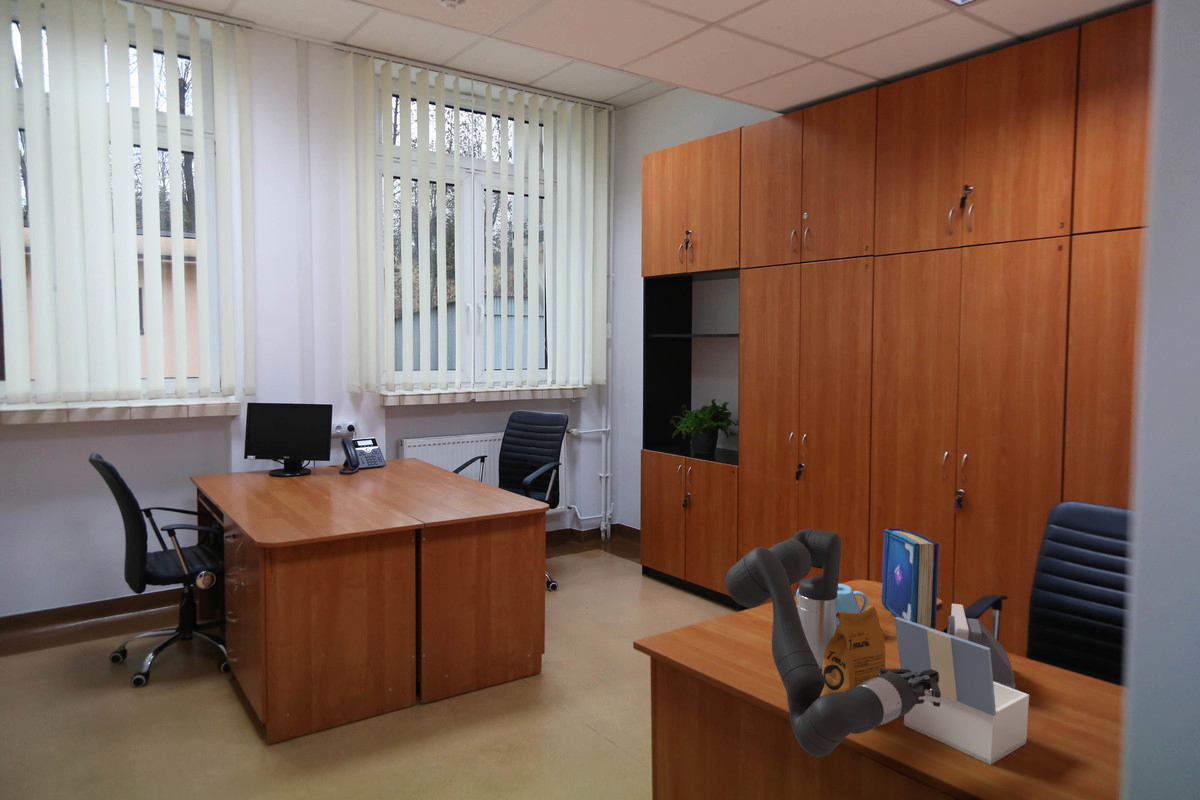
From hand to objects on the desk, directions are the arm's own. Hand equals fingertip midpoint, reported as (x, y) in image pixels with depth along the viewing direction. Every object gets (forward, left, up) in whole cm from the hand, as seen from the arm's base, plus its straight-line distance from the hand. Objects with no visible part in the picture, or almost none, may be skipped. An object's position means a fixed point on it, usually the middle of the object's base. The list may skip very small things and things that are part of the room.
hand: (934, 675), depth 145 cm
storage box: (+9, +8, -15) cm, 20 cm away
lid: (+2, +2, +2) cm, 4 cm away
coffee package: (-12, +15, -16) cm, 25 cm away
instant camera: (+18, +37, -16) cm, 44 cm away
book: (+13, +76, -16) cm, 79 cm away
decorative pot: (-10, +63, -16) cm, 66 cm away
